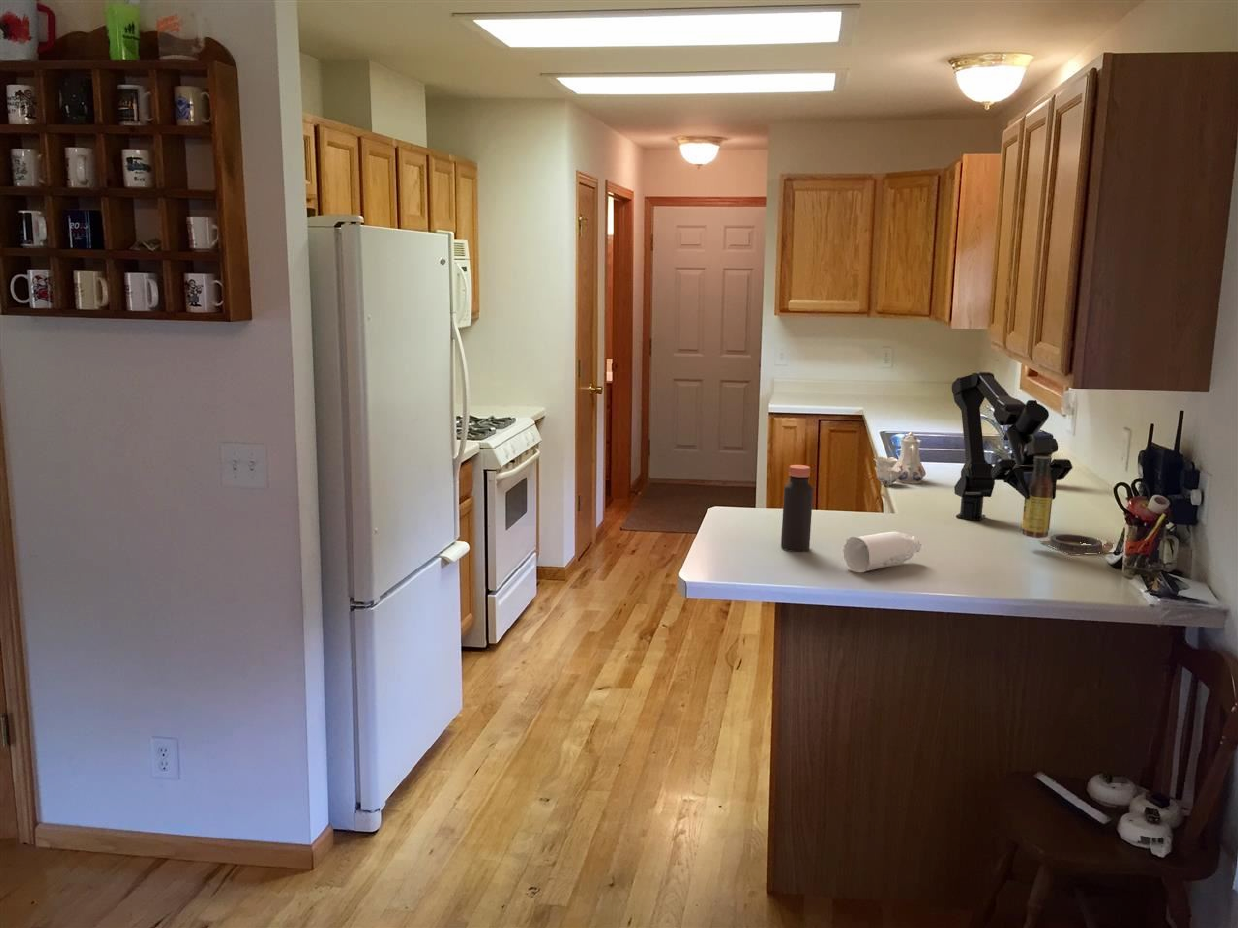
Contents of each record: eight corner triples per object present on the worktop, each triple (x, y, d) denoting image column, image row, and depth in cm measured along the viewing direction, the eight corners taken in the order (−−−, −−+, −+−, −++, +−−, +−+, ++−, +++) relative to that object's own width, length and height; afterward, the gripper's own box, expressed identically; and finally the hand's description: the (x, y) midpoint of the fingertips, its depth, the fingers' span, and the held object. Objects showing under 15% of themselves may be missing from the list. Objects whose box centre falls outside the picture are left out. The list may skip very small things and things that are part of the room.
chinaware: (868, 475, 354) (867, 427, 351) (919, 473, 351) (918, 424, 348) (877, 492, 326) (875, 440, 323) (932, 490, 324) (931, 437, 321)
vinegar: (775, 545, 254) (780, 464, 250) (799, 543, 257) (804, 463, 253) (790, 552, 248) (795, 470, 244) (814, 550, 250) (820, 468, 247)
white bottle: (927, 566, 240) (930, 533, 238) (866, 576, 230) (869, 541, 229) (901, 557, 247) (904, 525, 245) (841, 567, 237) (844, 533, 235)
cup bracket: (1099, 539, 268) (1100, 532, 268) (1133, 552, 257) (1134, 544, 256) (1039, 542, 264) (1039, 534, 263) (1070, 555, 252) (1071, 547, 252)
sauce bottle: (1027, 531, 260) (1036, 452, 256) (1052, 536, 256) (1062, 456, 252) (1016, 535, 256) (1024, 455, 252) (1041, 540, 251) (1050, 459, 248)
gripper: (1001, 426, 253) (1019, 480, 245) (1072, 426, 256) (1093, 480, 247) (982, 452, 262) (999, 505, 254) (1052, 452, 265) (1071, 505, 256)
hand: (1041, 498), depth 253 cm, fingers closed on sauce bottle, 6 cm apart
